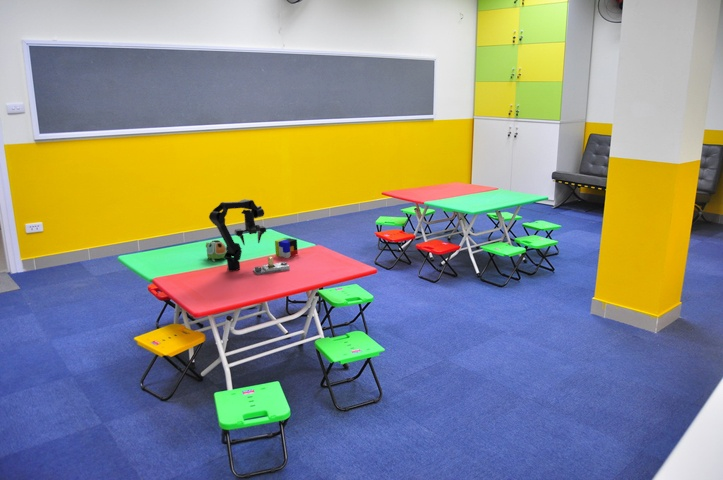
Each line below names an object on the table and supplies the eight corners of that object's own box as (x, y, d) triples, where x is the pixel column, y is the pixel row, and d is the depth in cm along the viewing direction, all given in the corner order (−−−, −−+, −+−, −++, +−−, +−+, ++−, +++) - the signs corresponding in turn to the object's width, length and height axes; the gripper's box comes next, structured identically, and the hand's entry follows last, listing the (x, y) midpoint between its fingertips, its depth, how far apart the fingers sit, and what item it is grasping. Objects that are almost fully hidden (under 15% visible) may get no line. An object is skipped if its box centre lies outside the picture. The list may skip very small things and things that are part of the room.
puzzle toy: (286, 258, 367) (286, 243, 364) (275, 255, 373) (274, 240, 370) (297, 254, 375) (296, 239, 372) (286, 252, 381) (285, 237, 378)
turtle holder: (217, 253, 381) (215, 236, 378) (231, 258, 369) (229, 241, 365) (200, 257, 373) (198, 240, 370) (214, 263, 360) (212, 245, 357)
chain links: (256, 274, 335) (256, 269, 334) (253, 270, 343) (252, 265, 342) (289, 269, 343) (289, 264, 342) (285, 265, 351) (284, 261, 350)
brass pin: (269, 271, 341) (268, 258, 339) (268, 269, 344) (267, 257, 342) (274, 270, 342) (273, 257, 340) (273, 269, 345) (272, 256, 343)
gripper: (237, 224, 341) (239, 249, 345) (267, 220, 348) (269, 245, 352) (233, 220, 351) (235, 245, 355) (262, 217, 358) (264, 241, 362)
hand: (251, 244), depth 356 cm, fingers open, 9 cm apart
